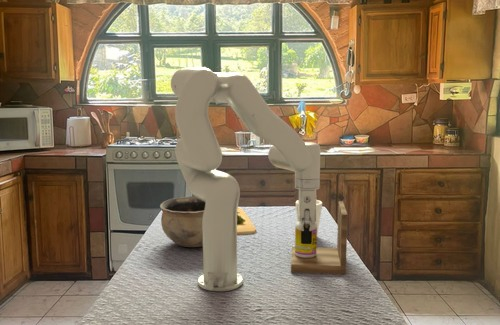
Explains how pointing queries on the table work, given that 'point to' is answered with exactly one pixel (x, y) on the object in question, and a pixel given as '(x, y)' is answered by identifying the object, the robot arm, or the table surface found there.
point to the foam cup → (318, 212)
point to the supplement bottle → (305, 249)
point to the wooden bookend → (326, 252)
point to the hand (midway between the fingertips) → (306, 239)
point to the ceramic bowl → (183, 220)
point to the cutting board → (244, 223)
